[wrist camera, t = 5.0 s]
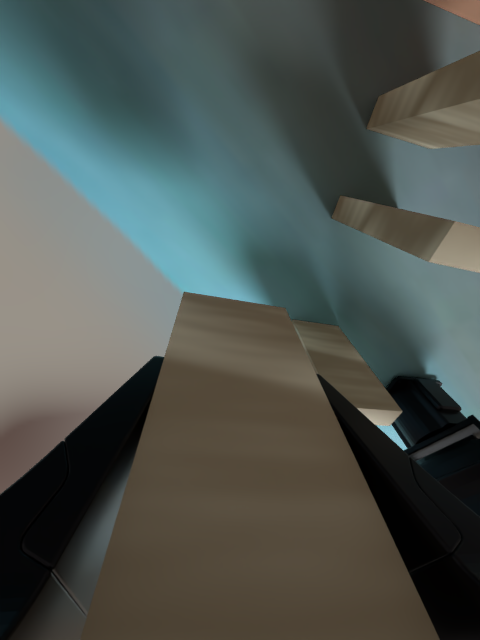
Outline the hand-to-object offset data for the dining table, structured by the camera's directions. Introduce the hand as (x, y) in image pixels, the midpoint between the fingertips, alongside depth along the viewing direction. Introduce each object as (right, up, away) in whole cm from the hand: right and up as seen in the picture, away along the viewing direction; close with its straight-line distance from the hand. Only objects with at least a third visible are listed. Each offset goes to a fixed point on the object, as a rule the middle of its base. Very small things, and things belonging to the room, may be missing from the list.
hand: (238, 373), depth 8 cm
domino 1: (0, +2, +3) cm, 4 cm away
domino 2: (+7, +1, +15) cm, 17 cm away
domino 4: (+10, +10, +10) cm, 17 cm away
